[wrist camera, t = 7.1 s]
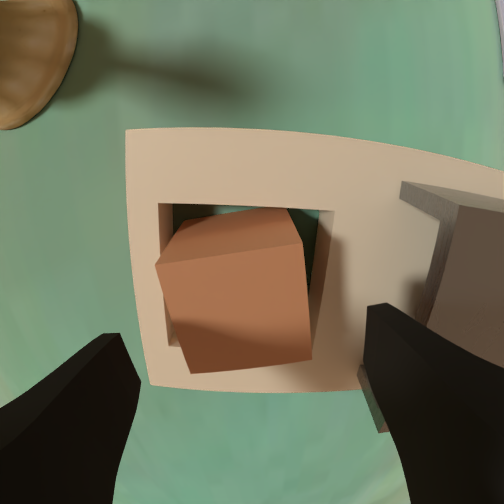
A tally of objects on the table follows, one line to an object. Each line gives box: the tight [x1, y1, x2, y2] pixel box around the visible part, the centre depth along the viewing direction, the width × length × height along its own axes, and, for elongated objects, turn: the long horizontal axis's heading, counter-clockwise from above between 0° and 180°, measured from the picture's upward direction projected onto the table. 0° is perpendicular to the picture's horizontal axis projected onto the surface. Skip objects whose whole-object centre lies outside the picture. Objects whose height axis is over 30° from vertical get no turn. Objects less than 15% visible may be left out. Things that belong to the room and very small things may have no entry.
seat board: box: [126, 128, 504, 393], centre depth 14 cm, size 12×20×2 cm, turn 87°
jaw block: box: [155, 207, 312, 374], centre depth 12 cm, size 4×4×5 cm
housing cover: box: [357, 181, 504, 433], centre depth 11 cm, size 9×9×4 cm
